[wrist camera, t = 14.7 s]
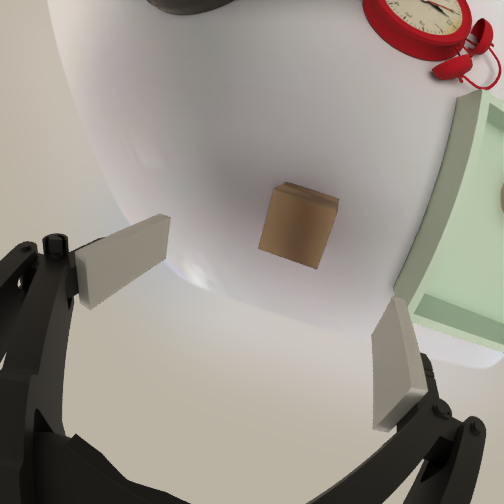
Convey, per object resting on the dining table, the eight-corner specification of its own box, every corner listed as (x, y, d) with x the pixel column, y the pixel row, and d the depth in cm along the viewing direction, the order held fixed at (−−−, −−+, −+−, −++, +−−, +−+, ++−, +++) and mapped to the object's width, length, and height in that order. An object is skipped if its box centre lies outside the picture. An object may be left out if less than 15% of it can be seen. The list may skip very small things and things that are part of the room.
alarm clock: (390, -60, 9) (533, 35, 7) (396, -25, 15) (512, 61, 12) (327, -14, 14) (485, 97, 12) (343, 21, 20) (466, 118, 17)
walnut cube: (273, 230, 28) (258, 248, 23) (286, 181, 25) (273, 189, 21) (322, 247, 27) (316, 269, 22) (338, 198, 24) (337, 210, 20)
